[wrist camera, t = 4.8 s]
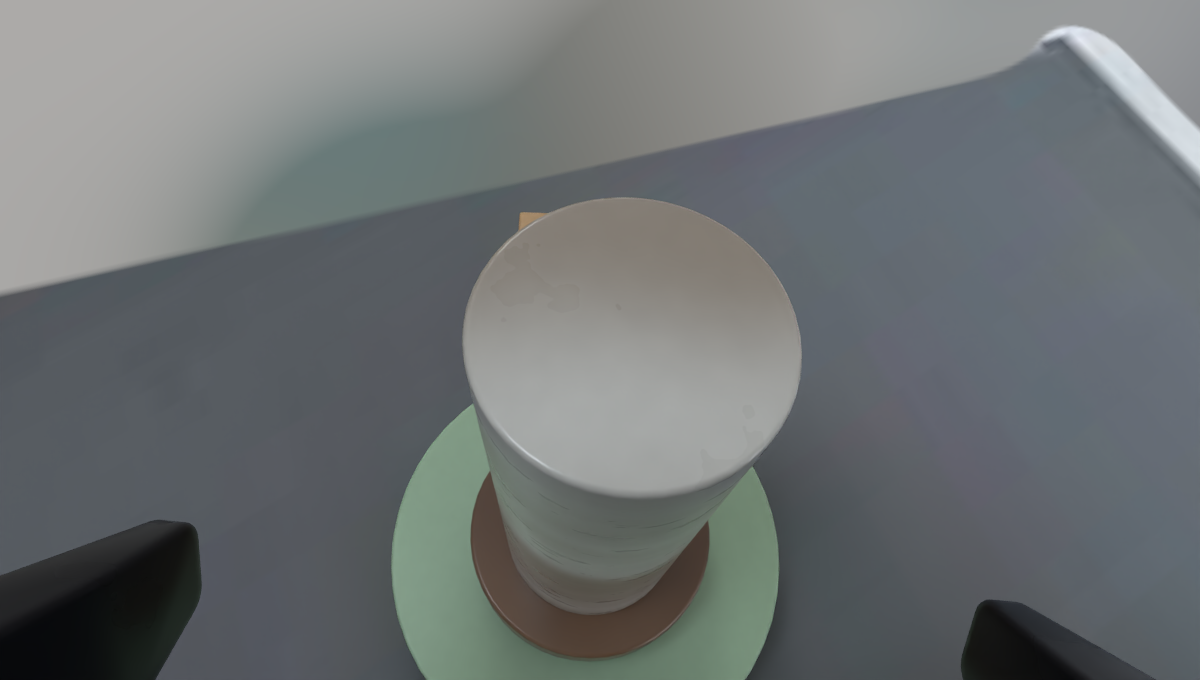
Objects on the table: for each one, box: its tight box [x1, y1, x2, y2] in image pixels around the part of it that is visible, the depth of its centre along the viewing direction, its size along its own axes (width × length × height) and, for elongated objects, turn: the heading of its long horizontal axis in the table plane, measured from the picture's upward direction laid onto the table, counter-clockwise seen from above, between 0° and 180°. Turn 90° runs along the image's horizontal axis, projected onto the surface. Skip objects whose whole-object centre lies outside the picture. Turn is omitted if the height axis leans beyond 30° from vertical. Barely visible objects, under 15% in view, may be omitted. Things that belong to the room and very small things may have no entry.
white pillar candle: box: [462, 197, 802, 662], centre depth 13 cm, size 11×5×10 cm, turn 0°
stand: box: [391, 404, 779, 680], centre depth 17 cm, size 9×9×2 cm
